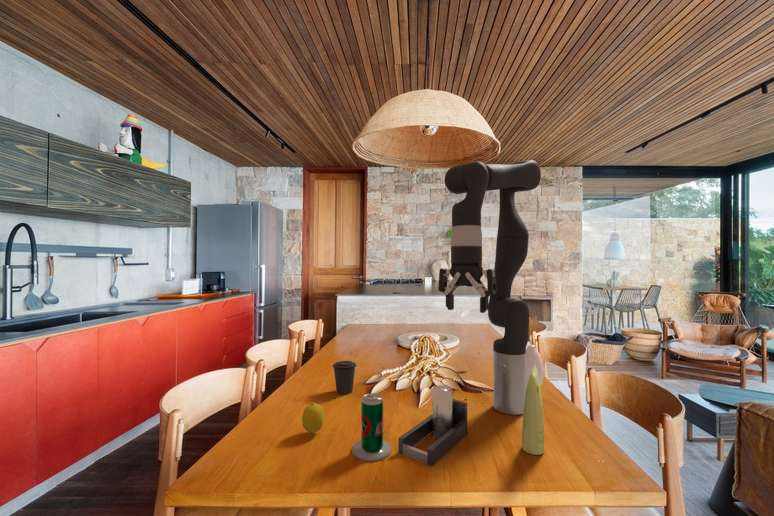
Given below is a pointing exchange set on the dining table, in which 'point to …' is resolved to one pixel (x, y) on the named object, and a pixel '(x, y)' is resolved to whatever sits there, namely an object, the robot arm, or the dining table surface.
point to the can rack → (441, 444)
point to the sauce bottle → (533, 363)
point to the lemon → (313, 418)
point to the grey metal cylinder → (442, 410)
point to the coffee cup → (344, 376)
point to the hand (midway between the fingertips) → (466, 311)
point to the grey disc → (371, 456)
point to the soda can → (372, 422)
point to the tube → (533, 417)
